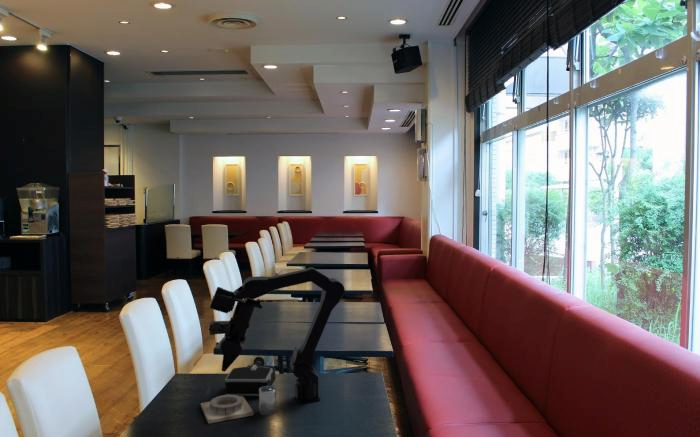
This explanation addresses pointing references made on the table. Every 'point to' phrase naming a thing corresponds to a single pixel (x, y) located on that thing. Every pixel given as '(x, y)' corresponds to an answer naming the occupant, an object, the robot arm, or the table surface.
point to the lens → (267, 400)
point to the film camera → (250, 378)
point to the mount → (226, 408)
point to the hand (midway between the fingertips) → (225, 366)
